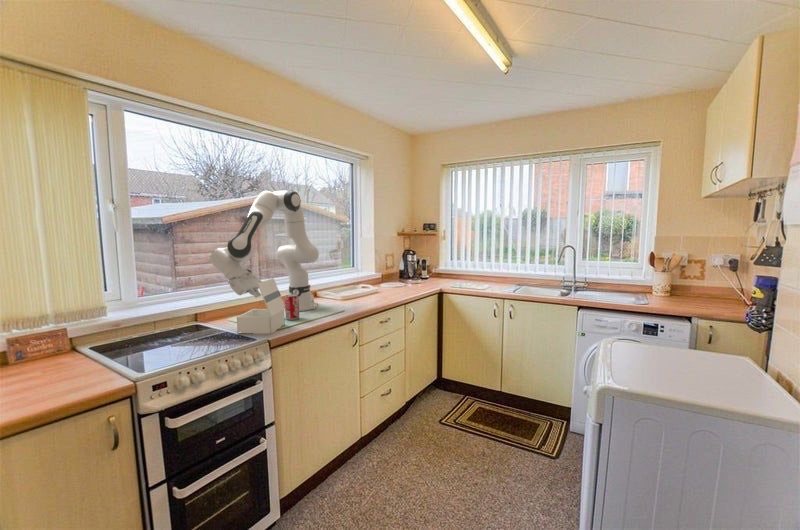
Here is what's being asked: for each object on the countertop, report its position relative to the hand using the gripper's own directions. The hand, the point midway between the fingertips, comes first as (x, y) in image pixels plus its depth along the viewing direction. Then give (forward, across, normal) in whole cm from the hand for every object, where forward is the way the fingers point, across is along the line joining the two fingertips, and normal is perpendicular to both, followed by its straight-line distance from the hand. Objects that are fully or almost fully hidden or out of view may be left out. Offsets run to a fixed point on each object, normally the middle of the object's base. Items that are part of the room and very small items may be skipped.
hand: (259, 296), depth 167 cm
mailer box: (+12, 0, +11) cm, 16 cm away
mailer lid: (+5, 0, -4) cm, 6 cm away
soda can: (+18, +19, +5) cm, 27 cm away
